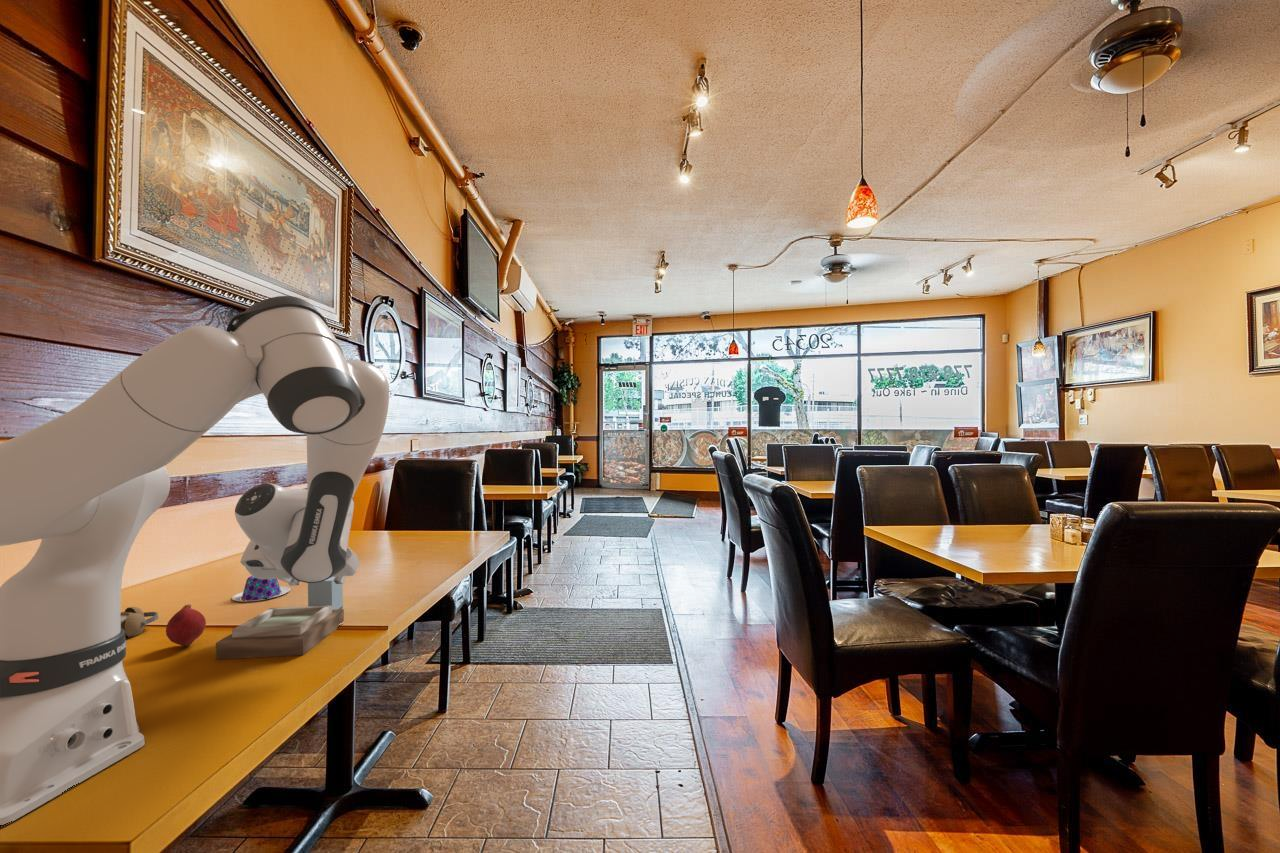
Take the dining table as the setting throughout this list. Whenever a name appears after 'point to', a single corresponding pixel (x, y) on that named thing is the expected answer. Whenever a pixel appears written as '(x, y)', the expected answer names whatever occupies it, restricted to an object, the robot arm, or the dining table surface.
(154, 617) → the alarm clock
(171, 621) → the onion
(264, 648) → the tray
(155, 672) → the dining table surface
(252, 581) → the purple and white hat
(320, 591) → the light blue-grey block
